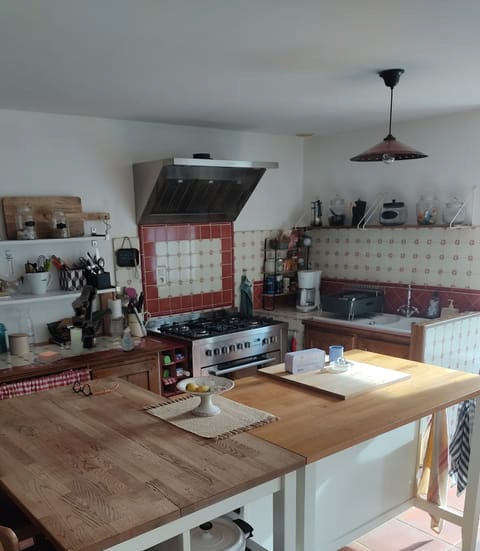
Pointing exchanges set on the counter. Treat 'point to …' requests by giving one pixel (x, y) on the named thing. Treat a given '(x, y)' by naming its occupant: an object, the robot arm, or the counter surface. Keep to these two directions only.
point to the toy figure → (127, 341)
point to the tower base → (48, 357)
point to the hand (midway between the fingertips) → (76, 341)
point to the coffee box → (119, 327)
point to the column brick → (76, 340)
